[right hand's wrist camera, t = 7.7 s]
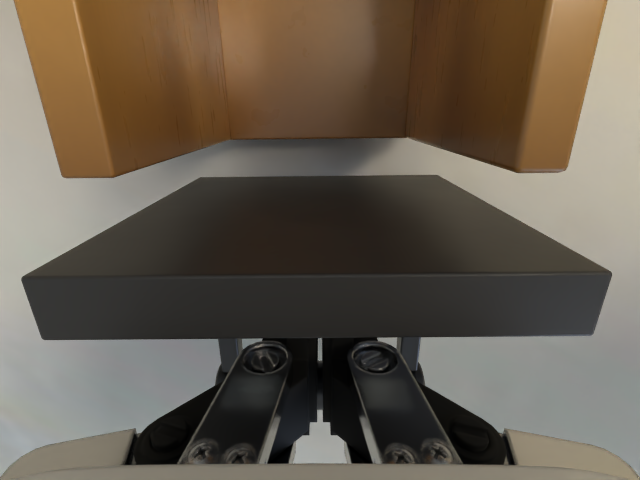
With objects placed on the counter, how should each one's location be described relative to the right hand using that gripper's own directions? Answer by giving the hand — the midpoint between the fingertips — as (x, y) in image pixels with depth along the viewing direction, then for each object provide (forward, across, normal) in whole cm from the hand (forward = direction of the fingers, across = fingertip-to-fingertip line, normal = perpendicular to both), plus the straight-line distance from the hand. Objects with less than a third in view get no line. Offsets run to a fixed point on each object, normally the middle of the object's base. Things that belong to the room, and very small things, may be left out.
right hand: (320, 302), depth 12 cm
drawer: (+3, 0, +9) cm, 10 cm away
